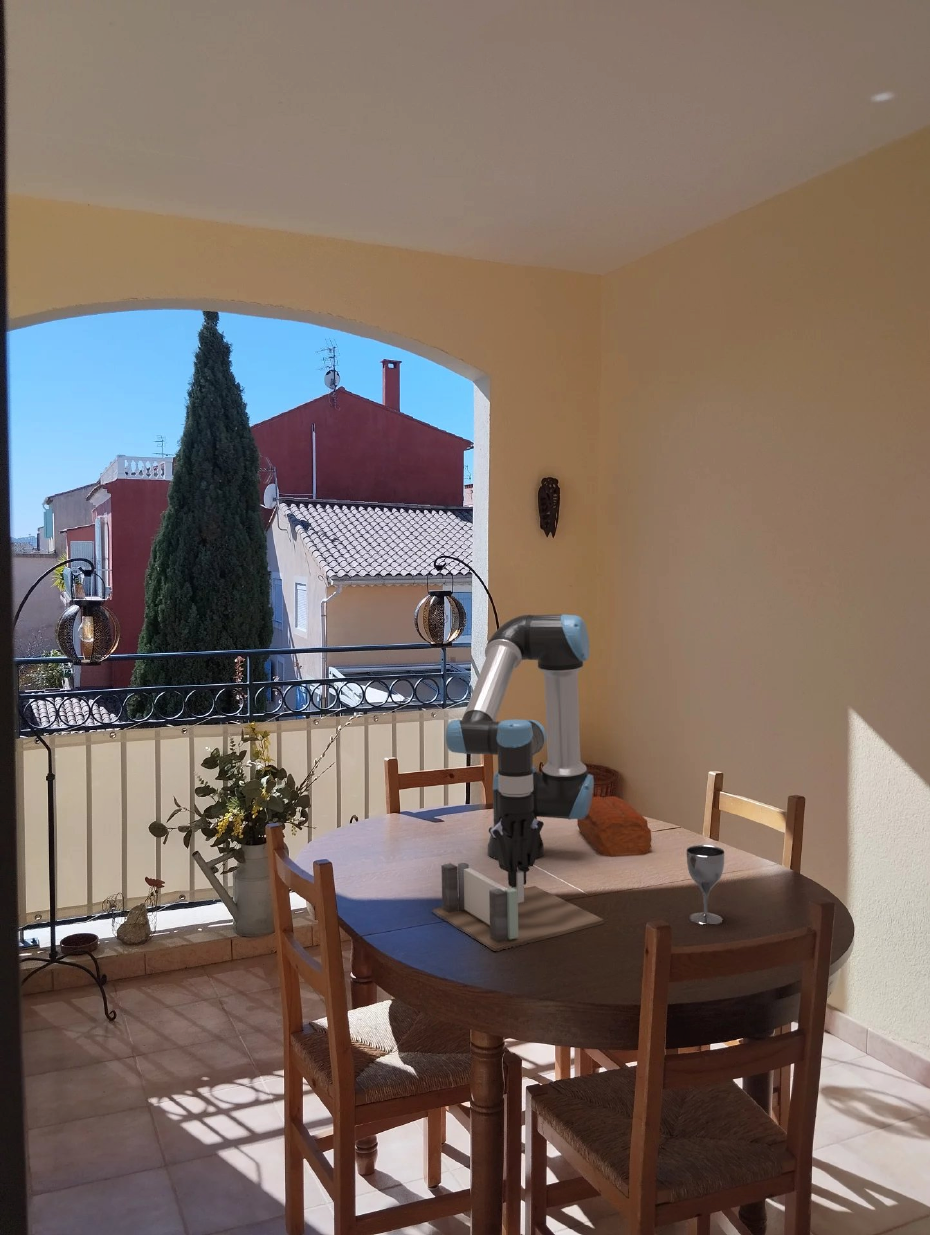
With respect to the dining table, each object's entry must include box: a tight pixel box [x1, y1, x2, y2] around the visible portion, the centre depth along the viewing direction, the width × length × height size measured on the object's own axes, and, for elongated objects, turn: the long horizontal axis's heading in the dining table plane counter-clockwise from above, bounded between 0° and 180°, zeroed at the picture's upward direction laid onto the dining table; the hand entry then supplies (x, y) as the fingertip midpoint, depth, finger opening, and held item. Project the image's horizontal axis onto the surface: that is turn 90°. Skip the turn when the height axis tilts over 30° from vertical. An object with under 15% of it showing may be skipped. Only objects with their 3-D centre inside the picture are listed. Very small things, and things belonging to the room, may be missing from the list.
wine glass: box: [686, 844, 725, 925], centre depth 206 cm, size 8×8×15 cm
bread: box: [576, 795, 652, 857], centre depth 265 cm, size 16×27×11 cm, turn 7°
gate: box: [457, 862, 518, 939], centre depth 204 cm, size 22×2×10 cm, turn 29°
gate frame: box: [431, 862, 605, 952], centre depth 209 cm, size 26×28×11 cm
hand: (517, 900), depth 205 cm, fingers closed
